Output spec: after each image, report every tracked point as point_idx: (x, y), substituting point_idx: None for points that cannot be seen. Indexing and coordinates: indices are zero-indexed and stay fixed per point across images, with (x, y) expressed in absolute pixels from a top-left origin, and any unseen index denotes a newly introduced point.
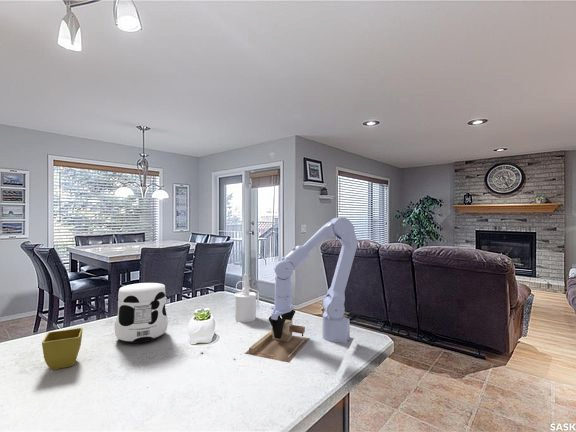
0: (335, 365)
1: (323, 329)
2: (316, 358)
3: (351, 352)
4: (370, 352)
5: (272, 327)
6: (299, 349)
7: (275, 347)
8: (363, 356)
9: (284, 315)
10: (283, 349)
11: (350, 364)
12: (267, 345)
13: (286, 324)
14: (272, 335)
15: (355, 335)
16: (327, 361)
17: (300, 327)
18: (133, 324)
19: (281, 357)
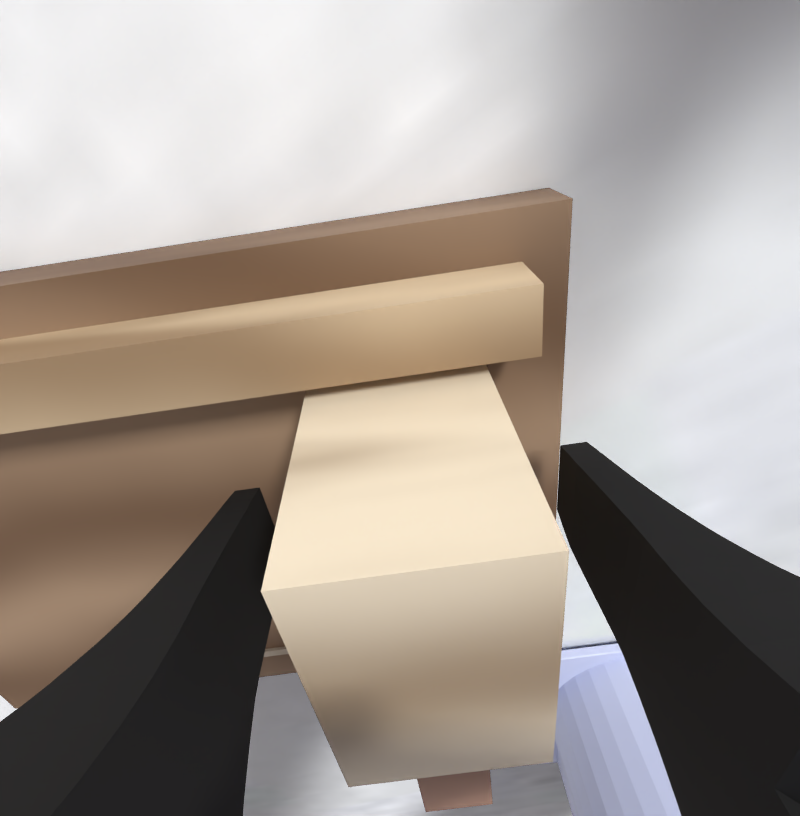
0: (285, 778)
1: (620, 789)
2: (295, 710)
3: (494, 775)
4: (537, 811)
5: (116, 628)
6: (266, 672)
7: (131, 529)
8: (472, 807)
9: (708, 688)
10: None
11: (346, 803)
12: (93, 440)
13: (342, 759)
14: (307, 405)
15: None
16: (302, 749)
17: (440, 792)
18: None
19: (19, 650)
